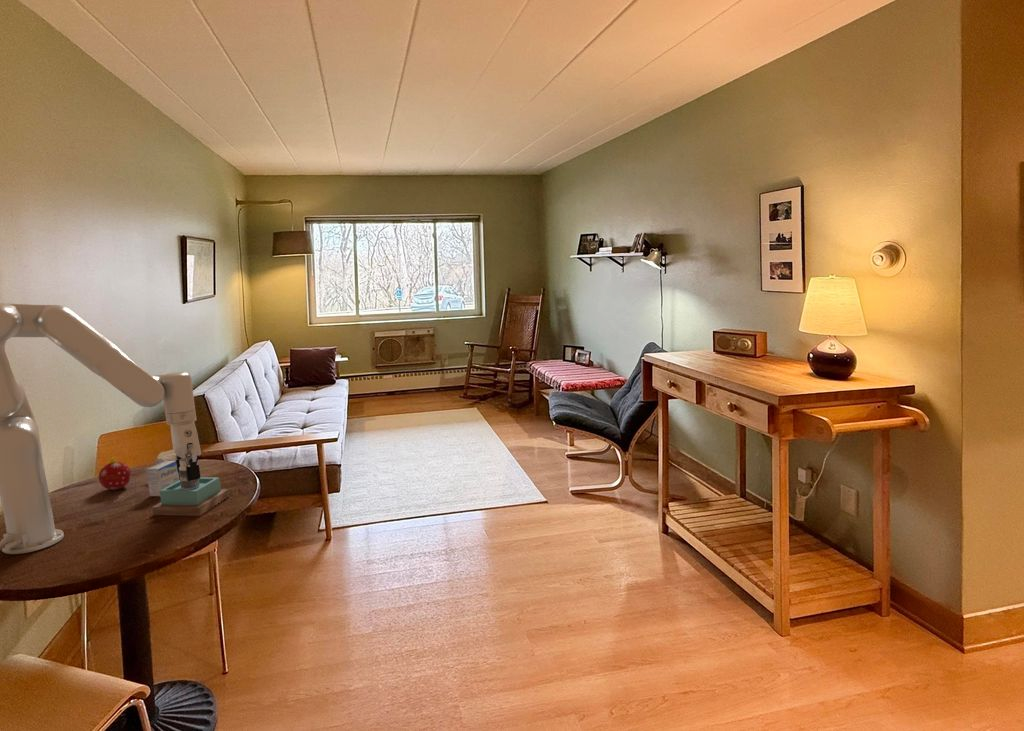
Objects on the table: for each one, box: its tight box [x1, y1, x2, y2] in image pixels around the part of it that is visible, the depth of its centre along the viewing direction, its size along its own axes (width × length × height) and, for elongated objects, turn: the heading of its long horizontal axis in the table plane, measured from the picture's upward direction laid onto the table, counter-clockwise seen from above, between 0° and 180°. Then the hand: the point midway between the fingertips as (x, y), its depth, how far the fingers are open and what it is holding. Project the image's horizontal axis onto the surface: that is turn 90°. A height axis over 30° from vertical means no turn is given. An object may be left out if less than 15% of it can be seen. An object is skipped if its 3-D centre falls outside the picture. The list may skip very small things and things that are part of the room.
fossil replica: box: [154, 449, 189, 476], centre depth 212 cm, size 12×8×10 cm
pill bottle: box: [179, 459, 199, 490], centre depth 182 cm, size 5×5×8 cm
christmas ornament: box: [98, 457, 132, 491], centre depth 200 cm, size 9×9×10 cm
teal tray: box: [159, 476, 222, 505], centre depth 183 cm, size 11×11×4 cm
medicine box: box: [145, 461, 180, 497], centre depth 195 cm, size 8×4×9 cm, turn 168°
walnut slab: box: [152, 488, 230, 517], centre depth 183 cm, size 14×14×3 cm
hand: (189, 475), depth 182 cm, fingers open, 9 cm apart
